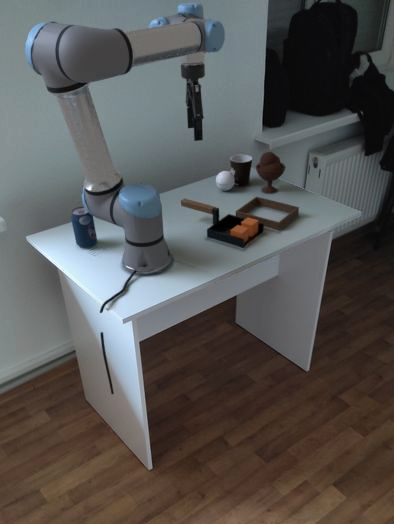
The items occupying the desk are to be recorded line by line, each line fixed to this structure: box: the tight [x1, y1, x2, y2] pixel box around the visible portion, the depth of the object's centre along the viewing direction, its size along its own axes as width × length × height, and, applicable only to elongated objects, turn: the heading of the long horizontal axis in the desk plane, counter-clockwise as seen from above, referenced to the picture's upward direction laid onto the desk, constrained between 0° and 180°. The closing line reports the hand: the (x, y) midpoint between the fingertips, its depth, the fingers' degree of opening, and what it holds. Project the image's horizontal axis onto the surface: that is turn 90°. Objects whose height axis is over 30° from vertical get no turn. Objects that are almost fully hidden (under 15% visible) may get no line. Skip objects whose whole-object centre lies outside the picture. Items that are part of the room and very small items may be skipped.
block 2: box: [241, 218, 259, 237], centre depth 167 cm, size 4×4×4 cm
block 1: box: [231, 225, 249, 243], centre depth 164 cm, size 4×4×4 cm
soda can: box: [70, 206, 98, 250], centre depth 164 cm, size 7×7×12 cm
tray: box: [235, 196, 300, 232], centre depth 177 cm, size 17×14×4 cm
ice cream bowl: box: [255, 151, 286, 194], centre depth 191 cm, size 11×11×15 cm
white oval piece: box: [215, 170, 235, 192], centre depth 195 cm, size 10×7×7 cm
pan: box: [180, 198, 265, 249], centre depth 170 cm, size 29×13×8 cm, turn 54°
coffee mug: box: [229, 153, 253, 188], centre depth 200 cm, size 12×9×10 cm
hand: (195, 133), depth 171 cm, fingers open, 13 cm apart
